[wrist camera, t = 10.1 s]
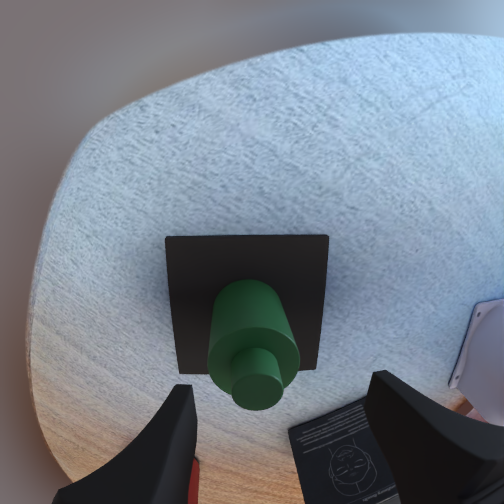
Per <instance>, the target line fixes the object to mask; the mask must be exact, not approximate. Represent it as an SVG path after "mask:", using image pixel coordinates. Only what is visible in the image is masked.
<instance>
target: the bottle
mask: <svg viewBox="0 0 504 504" xmlns="http://www.w3.org/2000/svg"><path fill="white" fill-rule="evenodd" d="M299 365H300V355H299V351H298V348H297V345H296V342H295V340H294V337H293V334H292V331H291V329H290V326H289V323H288V320H287V318H286V315H285V312H284V309H283V307H282V304H281V301H280V299H279V297H278V295H277V293H276V292H275V291H274V290H273V289H272V288H271V287H270V286H269V285H267V284H265V283H263V282H261V281H258V280H252V279H245V280H239V281H235V282H233V283H231V284H229V285H227V286H226V287H225V288H223V289H222V290H221V291H220V292H219V294H218V295H217V297H216V299H215V302H214V305H213V313H212V322H211V331H210V341H209V351H208V361H207V366H208V372H209V374H210V377H211V379H212V380H213V382H214V383H215V384H216V385H217V386H218V387H219V388H220V389H221V390H223V391H224V392H226V393H228V394H230V395H232V398H233V400H234V401H235V403H236V404H237V405H239V406H240V407H242V408H244V409H247V410H253V411H258V410H264V409H268V408H270V407H272V406H274V405H275V404H276V403H278V402H279V400H280V399H281V397H282V395H283V391H284V388H286V387H287V386H288V385H289V384H290V383H291V382H292V381H293V379H294V378H295V376H296V374H297V372H298V369H299Z"/></svg>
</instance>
